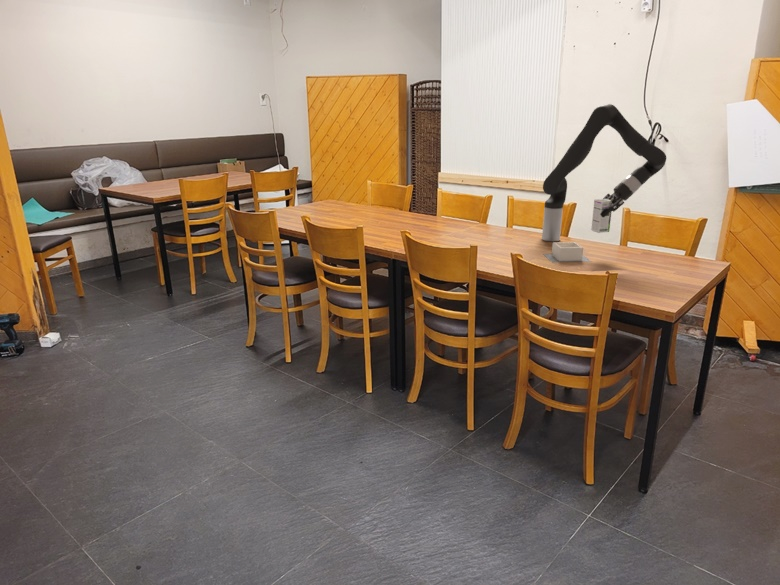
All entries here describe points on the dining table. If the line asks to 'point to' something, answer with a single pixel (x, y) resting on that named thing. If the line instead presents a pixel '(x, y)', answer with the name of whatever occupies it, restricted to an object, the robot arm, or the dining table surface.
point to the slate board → (564, 261)
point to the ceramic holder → (567, 251)
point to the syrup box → (598, 221)
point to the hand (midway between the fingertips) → (598, 214)
